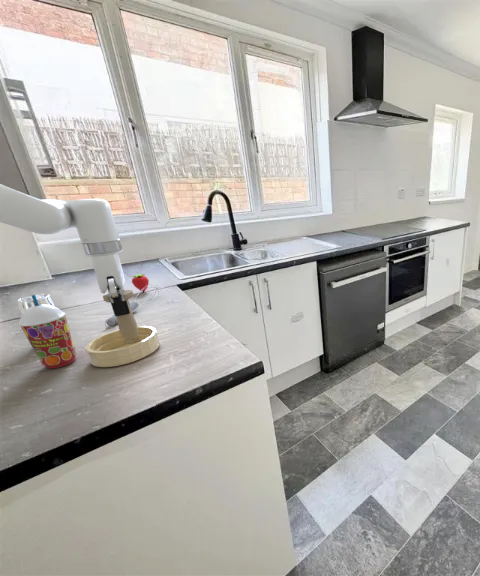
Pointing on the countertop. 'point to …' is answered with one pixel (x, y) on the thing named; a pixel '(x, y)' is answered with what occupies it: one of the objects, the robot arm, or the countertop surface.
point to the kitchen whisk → (133, 306)
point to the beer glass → (28, 301)
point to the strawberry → (140, 282)
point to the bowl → (121, 348)
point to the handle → (126, 320)
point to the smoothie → (48, 334)
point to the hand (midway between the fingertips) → (122, 311)
